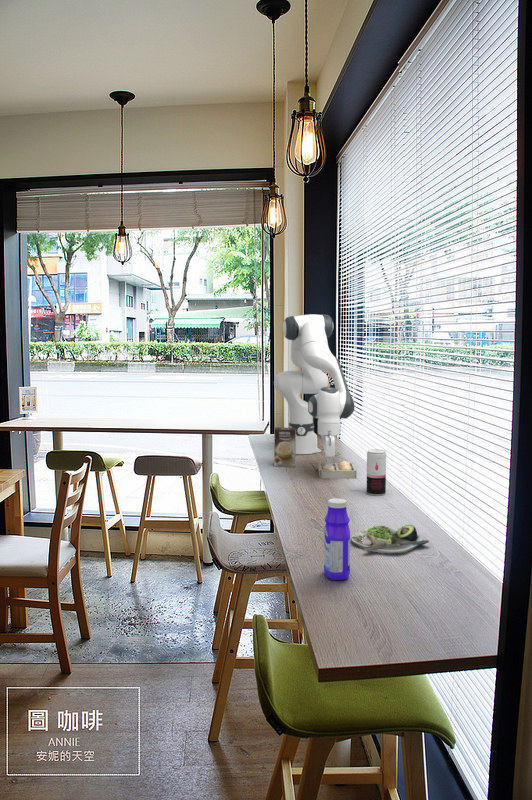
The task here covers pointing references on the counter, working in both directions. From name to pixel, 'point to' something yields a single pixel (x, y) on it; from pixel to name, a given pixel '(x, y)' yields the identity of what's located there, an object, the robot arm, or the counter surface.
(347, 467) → the egg
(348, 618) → the counter surface
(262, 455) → the counter surface
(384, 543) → the avocado toast plate
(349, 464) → the egg
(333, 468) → the egg
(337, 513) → the bottle
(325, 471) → the carton
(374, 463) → the beverage can
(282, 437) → the coffee box
